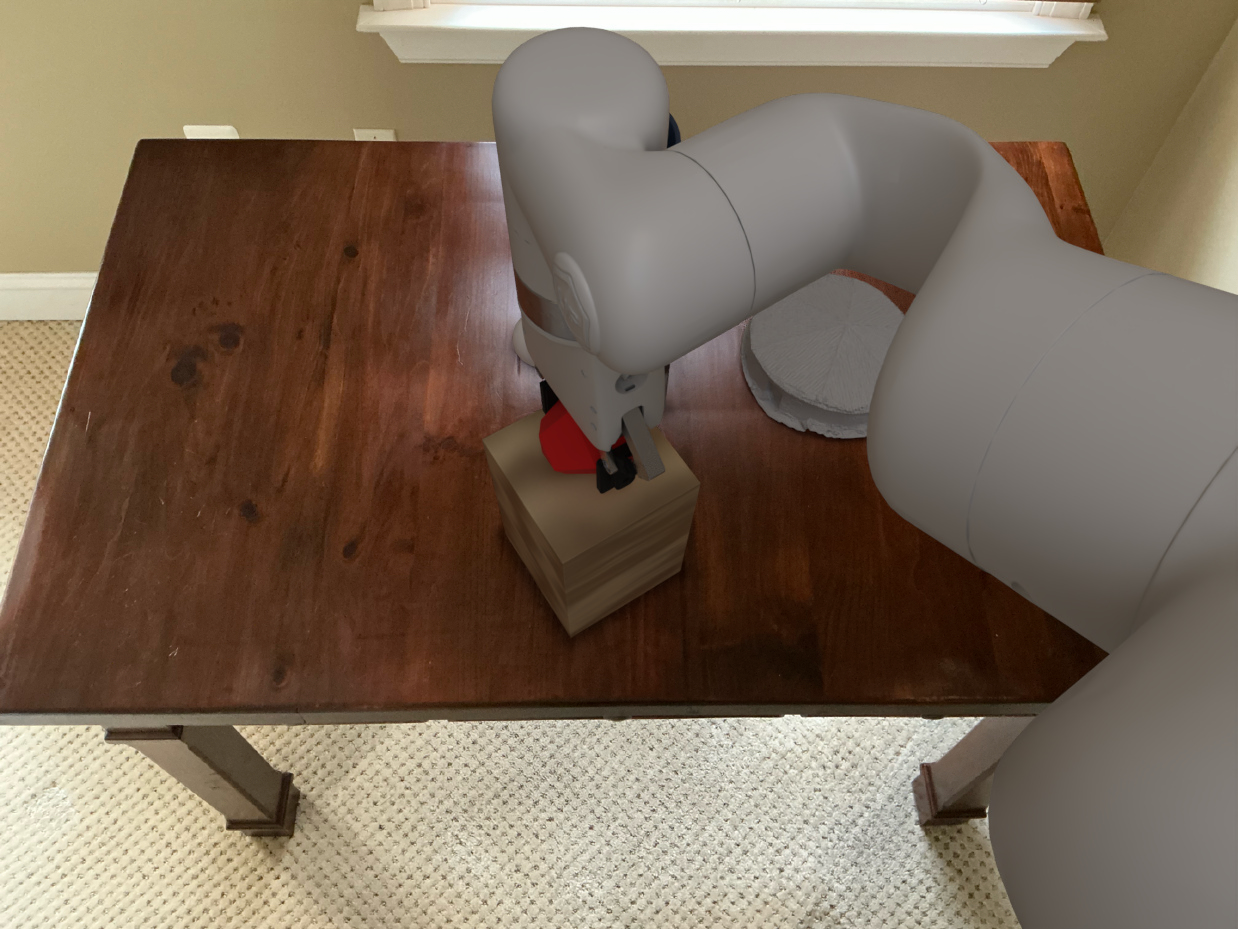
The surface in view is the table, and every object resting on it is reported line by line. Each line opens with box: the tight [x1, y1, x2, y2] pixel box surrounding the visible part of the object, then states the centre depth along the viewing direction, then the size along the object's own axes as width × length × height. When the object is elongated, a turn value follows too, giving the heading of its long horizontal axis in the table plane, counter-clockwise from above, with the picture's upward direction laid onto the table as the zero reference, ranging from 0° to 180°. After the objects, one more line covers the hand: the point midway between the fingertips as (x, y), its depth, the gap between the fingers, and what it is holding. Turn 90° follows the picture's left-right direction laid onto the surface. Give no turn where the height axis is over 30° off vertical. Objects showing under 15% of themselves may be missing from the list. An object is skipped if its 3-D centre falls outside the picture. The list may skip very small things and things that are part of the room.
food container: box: [740, 272, 905, 440], centre depth 86 cm, size 20×20×7 cm
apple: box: [539, 400, 626, 474], centre depth 58 cm, size 7×7×8 cm
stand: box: [481, 407, 702, 639], centre depth 70 cm, size 12×12×18 cm
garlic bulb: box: [511, 317, 535, 368], centre depth 86 cm, size 6×6×8 cm
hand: (589, 441), depth 60 cm, fingers closed on apple, 6 cm apart
